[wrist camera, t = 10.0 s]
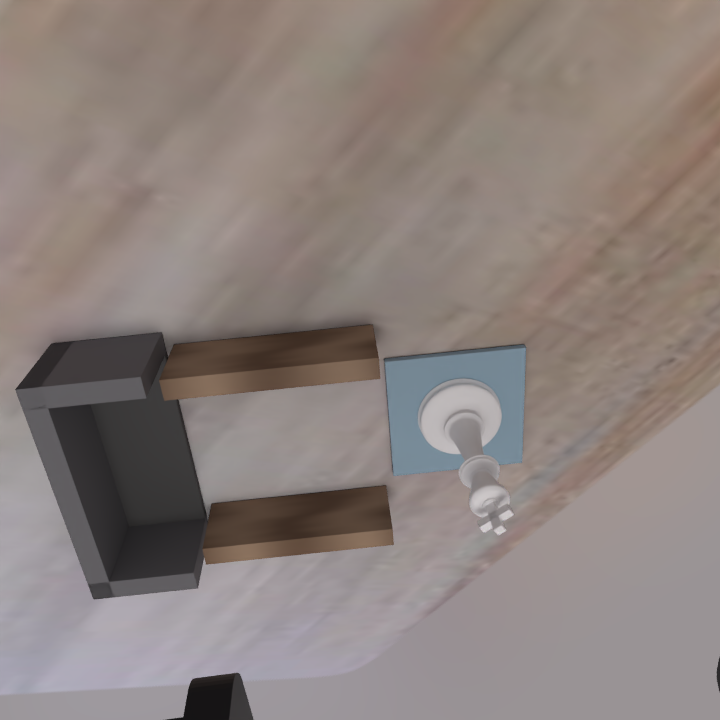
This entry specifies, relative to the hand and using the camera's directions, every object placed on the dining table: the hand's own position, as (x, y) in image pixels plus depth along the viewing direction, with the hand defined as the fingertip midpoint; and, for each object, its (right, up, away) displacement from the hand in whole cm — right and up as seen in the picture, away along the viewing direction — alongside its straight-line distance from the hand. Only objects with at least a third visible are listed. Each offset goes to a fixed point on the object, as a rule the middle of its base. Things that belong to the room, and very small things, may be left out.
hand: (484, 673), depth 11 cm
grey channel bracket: (-15, 0, +29) cm, 33 cm away
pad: (+4, +2, +29) cm, 29 cm away
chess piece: (+4, +2, +29) cm, 29 cm away
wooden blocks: (-6, +1, +29) cm, 30 cm away
